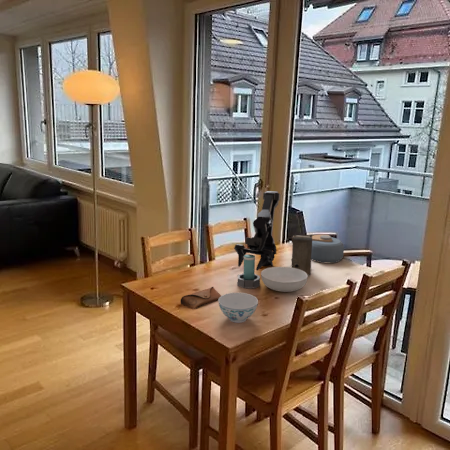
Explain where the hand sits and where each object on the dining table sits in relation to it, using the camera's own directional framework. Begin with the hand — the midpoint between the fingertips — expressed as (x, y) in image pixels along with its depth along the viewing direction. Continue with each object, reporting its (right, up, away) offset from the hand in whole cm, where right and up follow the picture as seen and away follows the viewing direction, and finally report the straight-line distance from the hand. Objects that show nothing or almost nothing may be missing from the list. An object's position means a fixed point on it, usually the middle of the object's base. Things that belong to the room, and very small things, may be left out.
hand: (247, 268), depth 204 cm
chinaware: (-5, -17, -32) cm, 36 cm away
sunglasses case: (-19, -13, -15) cm, 28 cm away
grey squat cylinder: (+44, +2, +43) cm, 61 cm away
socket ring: (+1, -8, +3) cm, 8 cm away
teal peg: (+1, -7, +3) cm, 8 cm away
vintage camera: (+27, -3, +22) cm, 35 cm away
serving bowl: (+16, -9, -1) cm, 19 cm away
